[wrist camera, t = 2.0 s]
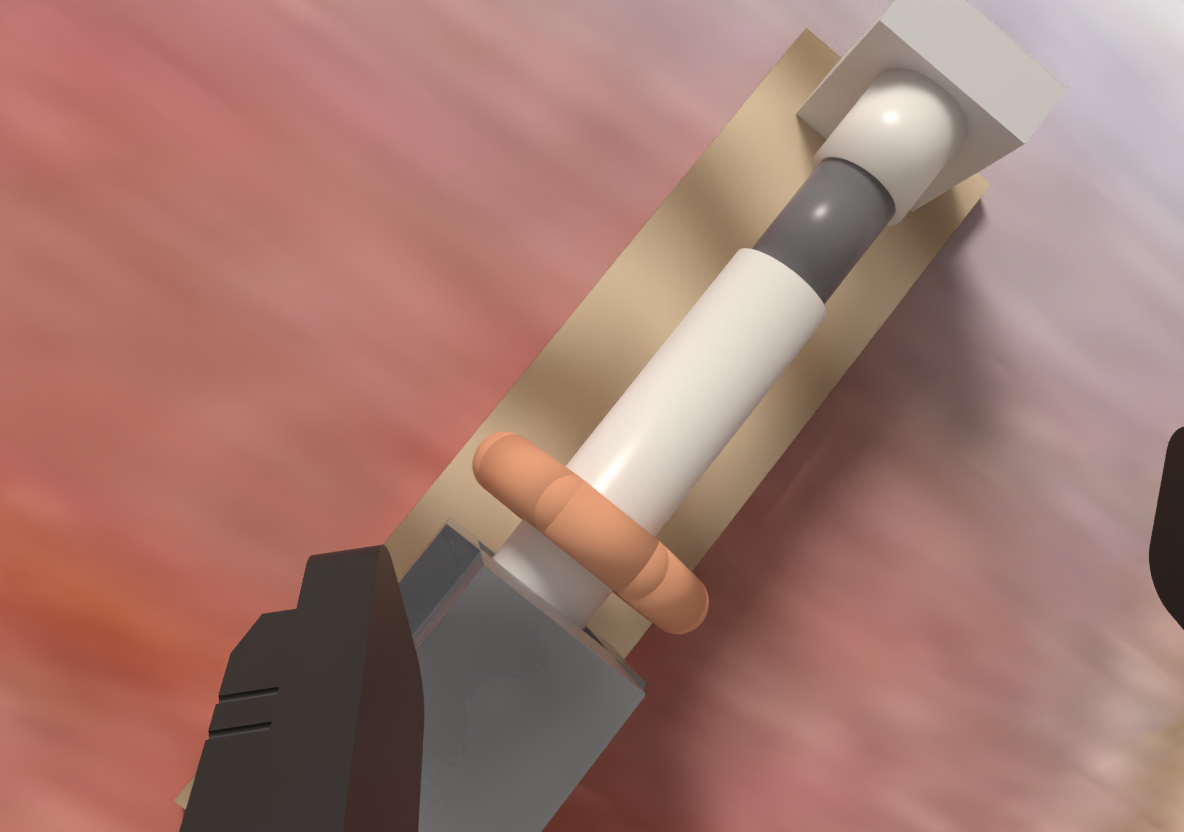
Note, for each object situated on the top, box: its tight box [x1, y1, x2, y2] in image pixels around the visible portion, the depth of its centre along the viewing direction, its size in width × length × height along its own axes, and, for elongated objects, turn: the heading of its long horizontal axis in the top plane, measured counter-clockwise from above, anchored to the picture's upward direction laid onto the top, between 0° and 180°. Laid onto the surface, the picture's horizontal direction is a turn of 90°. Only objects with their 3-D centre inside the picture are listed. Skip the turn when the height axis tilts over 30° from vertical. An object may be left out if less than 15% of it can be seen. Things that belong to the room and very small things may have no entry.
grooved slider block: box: [398, 517, 647, 832], centre depth 26 cm, size 6×6×10 cm
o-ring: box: [472, 432, 709, 634], centre depth 28 cm, size 2×7×7 cm, turn 51°
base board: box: [174, 28, 991, 810], centre depth 34 cm, size 31×8×1 cm, turn 141°
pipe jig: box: [492, 0, 1068, 630], centre depth 31 cm, size 30×5×8 cm, turn 141°
